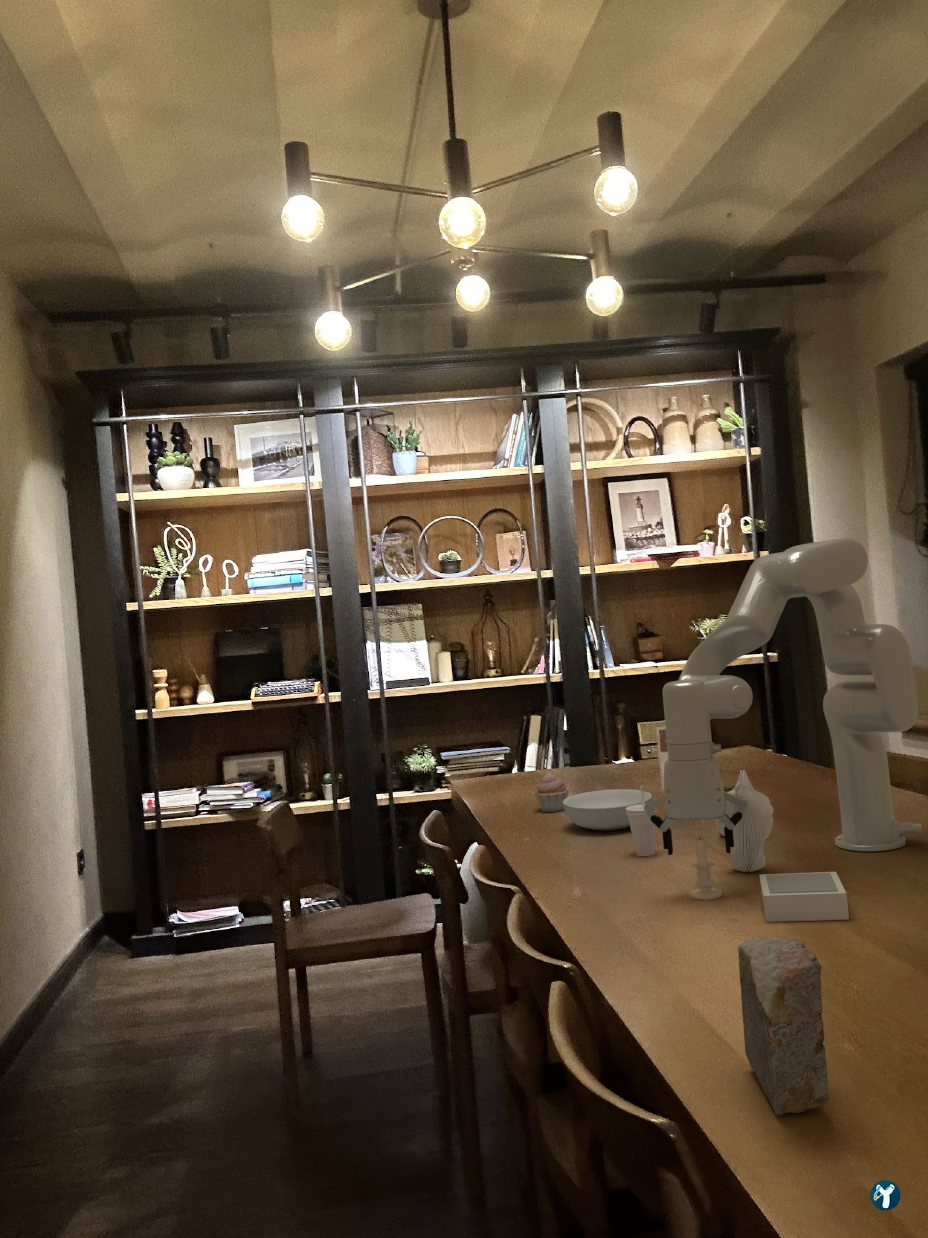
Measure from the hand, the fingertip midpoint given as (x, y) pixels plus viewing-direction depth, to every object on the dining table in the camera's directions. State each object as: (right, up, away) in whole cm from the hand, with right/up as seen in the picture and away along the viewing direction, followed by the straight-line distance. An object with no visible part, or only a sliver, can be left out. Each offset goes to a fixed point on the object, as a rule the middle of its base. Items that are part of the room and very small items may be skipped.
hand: (699, 852), depth 165 cm
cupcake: (-17, -11, +88) cm, 90 cm away
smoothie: (-3, -8, +32) cm, 33 cm away
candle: (+1, -8, 0) cm, 8 cm away
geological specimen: (-7, -8, -68) cm, 69 cm away
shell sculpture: (+13, -7, +13) cm, 19 cm away
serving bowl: (-6, -9, +62) cm, 63 cm away
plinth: (+14, -6, -12) cm, 19 cm away
